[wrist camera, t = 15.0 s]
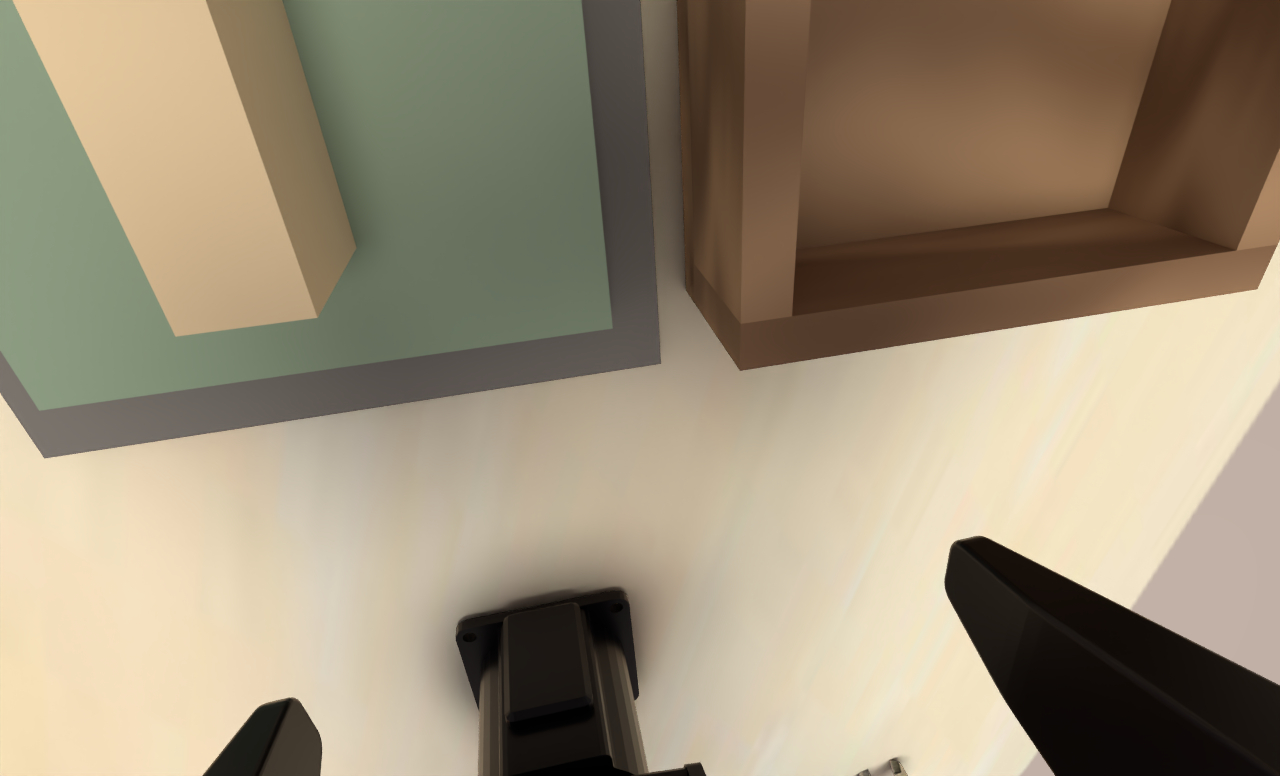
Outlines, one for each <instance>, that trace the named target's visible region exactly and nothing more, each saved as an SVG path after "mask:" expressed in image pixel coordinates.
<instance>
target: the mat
mask: <svg viewBox="0 0 1280 776" xmlns="http://www.w3.org/2000/svg"><path fill="white" fill-rule="evenodd" d="M581 1H582V12H583V22H584V33H585V43H586V54H587V64H588V75H589V85H590V96H591V106H592V117H593V127H594V138H595V148H596V159H597V169H598V179H599V190H600V200H601V211H602V221H603V232H604V242H605V253H606V263H607V274H608V284H609V295H610V305H611V316H612V326H613V329H606V330H599V331H592V332H585V333H578V334H571V335H564V336H557V337H550V338H543V339H536V340H529V341H522V342H515V343H508V344H501V345H494V346H487V347H480V348H473V349H466V350H459V351H453V352H446V353H439V354H432V355H425V356H418V357H411V358H404V359H397V360H390V361H383V362H376V363H369V364H362V365H355V366H348V367H341V368H334V369H327V370H320V371H313V372H306V373H299V374H292V375H285V376H278V377H271V378H264V379H257V380H250V381H243V382H236V383H229V384H222V385H215V386H208V387H201V388H194V389H187V390H180V391H174V392H167V393H160V394H153V395H146V396H139V397H132V398H125V399H118V400H111V401H104V402H97V403H90V404H83V405H76V406H69V407H62V408H55V409H48V410H41V411H39V409H38V408H37V406H36V405H35V403H34V402H33V400H32V399H31V397H30V396H29V394H28V392H27V391H26V389H25V388H24V386H23V385H22V383H21V382H20V380H19V379H18V377H17V376H16V374H15V372H14V371H13V369H12V368H11V366H10V365H9V363H8V362H7V360H6V359H5V357H4V355H3V354H2V352H1V351H0V393H1V395H2V396H3V398H4V399H5V401H6V402H7V404H8V405H9V407H10V408H11V409H12V411H13V412H14V414H15V415H16V417H17V418H18V420H19V421H20V423H21V424H22V426H23V427H24V429H25V430H26V432H27V433H28V435H29V436H30V438H31V439H32V441H33V442H34V443H35V445H36V446H37V448H38V449H39V451H40V452H41V454H42V455H43V457H44V458H50V457H57V456H63V455H70V454H76V453H83V452H89V451H96V450H102V449H109V448H115V447H122V446H128V445H135V444H141V443H148V442H154V441H161V440H167V439H174V438H180V437H187V436H193V435H200V434H206V433H213V432H219V431H226V430H232V429H239V428H245V427H252V426H258V425H265V424H271V423H278V422H284V421H291V420H297V419H304V418H310V417H317V416H324V415H330V414H337V413H343V412H350V411H356V410H363V409H369V408H376V407H382V406H389V405H395V404H402V403H408V402H415V401H421V400H428V399H434V398H441V397H447V396H454V395H460V394H467V393H473V392H480V391H486V390H493V389H499V388H506V387H512V386H519V385H525V384H532V383H538V382H545V381H551V380H558V379H564V378H571V377H577V376H584V375H590V374H597V373H604V372H610V371H617V370H623V369H630V368H636V367H643V366H649V365H656V364H661V357H660V339H659V321H658V304H657V286H656V268H655V251H654V233H653V216H652V198H651V180H650V163H649V145H648V127H647V110H646V92H645V74H644V57H643V39H642V21H641V4H640V0H581Z"/></svg>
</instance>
